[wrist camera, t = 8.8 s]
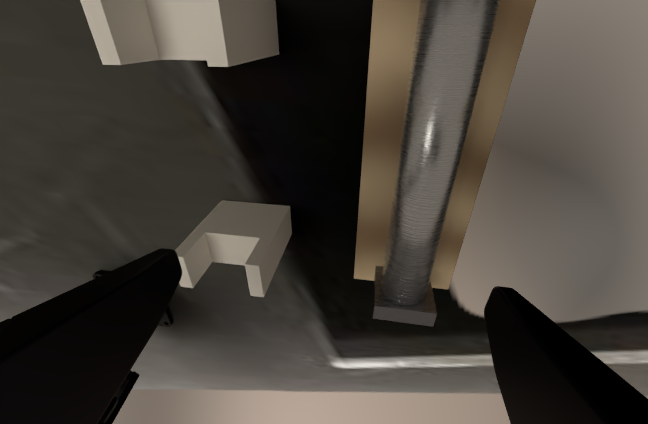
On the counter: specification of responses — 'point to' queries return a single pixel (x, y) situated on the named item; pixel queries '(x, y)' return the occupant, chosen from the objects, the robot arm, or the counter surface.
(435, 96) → the rail
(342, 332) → the counter surface
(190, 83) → the counter surface
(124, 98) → the counter surface
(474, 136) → the board
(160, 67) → the counter surface
